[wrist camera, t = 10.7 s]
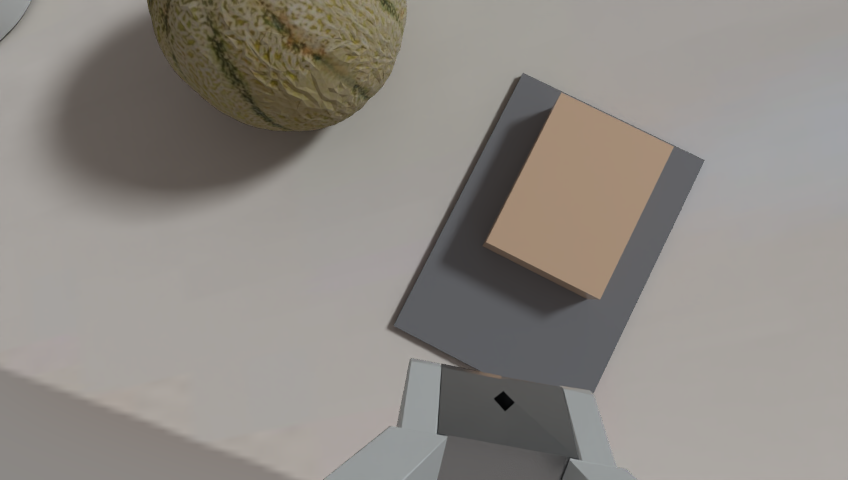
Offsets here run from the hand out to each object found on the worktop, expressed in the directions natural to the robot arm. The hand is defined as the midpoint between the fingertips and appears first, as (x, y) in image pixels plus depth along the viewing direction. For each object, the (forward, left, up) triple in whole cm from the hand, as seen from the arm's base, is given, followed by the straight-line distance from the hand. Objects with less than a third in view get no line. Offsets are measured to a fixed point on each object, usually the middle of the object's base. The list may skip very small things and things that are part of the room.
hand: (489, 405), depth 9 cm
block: (+6, +2, -28) cm, 29 cm away
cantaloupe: (-6, +21, -30) cm, 37 cm away
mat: (+8, +4, -30) cm, 31 cm away
